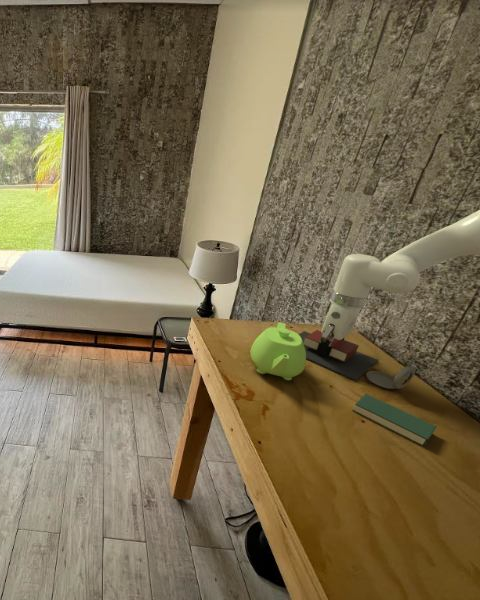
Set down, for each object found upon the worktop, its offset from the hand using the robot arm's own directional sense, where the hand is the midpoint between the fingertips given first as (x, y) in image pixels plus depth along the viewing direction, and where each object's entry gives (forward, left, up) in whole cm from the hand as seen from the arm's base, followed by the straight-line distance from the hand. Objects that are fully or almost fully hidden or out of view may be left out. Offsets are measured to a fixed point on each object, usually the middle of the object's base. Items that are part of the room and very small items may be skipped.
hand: (328, 350), depth 96 cm
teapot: (+6, +20, -1) cm, 21 cm away
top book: (0, 0, 0) cm, 0 cm away
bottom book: (-20, +18, -1) cm, 27 cm away
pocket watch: (-15, +3, -1) cm, 15 cm away
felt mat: (0, 0, -1) cm, 1 cm away
